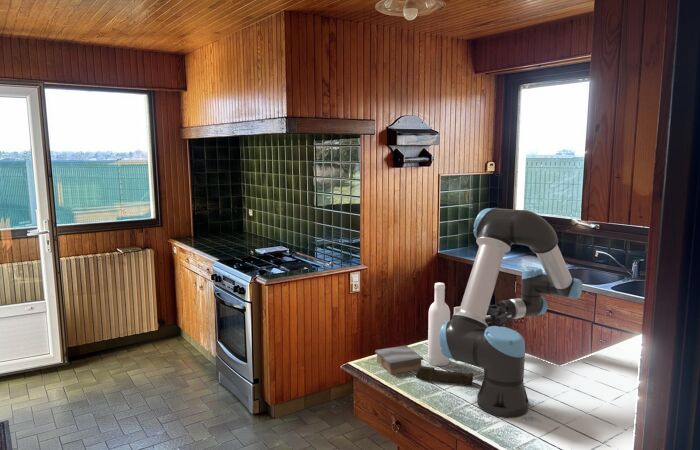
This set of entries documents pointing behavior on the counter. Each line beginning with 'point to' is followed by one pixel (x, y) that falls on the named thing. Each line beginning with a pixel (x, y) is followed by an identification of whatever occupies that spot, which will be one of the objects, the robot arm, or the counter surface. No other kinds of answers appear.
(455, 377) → the hand tool
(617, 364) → the counter surface
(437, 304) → the bottle
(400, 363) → the slate stand
